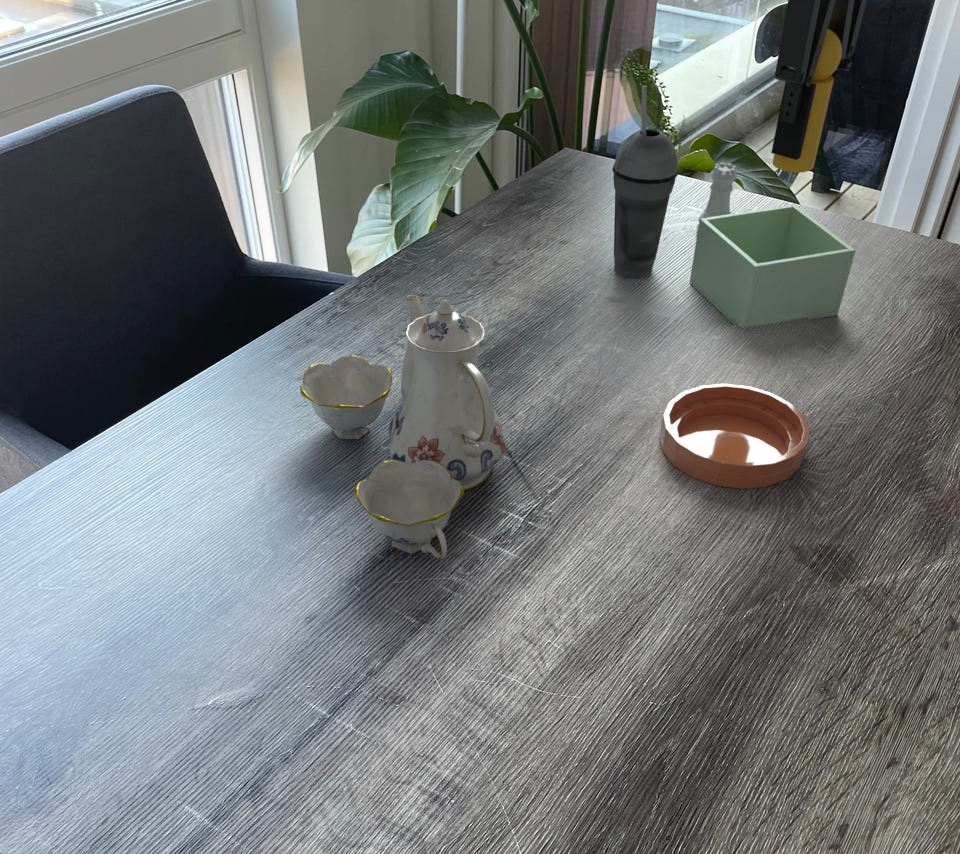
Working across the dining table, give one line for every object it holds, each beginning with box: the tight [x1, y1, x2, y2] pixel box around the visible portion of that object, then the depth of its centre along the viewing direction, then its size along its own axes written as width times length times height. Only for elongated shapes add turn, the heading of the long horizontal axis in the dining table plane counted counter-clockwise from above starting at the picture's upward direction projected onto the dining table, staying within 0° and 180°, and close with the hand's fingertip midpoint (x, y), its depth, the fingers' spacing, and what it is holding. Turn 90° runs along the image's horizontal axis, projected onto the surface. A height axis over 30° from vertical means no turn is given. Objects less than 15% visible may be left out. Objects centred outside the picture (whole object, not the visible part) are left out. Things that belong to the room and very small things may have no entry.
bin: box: [689, 204, 856, 329], centre depth 115 cm, size 12×12×8 cm
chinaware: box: [299, 294, 507, 560], centre depth 89 cm, size 28×17×17 cm, turn 27°
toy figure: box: [772, 29, 842, 174], centre depth 98 cm, size 4×4×12 cm
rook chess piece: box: [696, 162, 738, 231], centre depth 127 cm, size 4×4×8 cm
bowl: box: [659, 383, 811, 490], centre depth 96 cm, size 13×13×3 cm
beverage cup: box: [612, 84, 679, 279], centre depth 115 cm, size 7×7×20 cm
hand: (797, 147), depth 101 cm, fingers closed on toy figure, 4 cm apart
